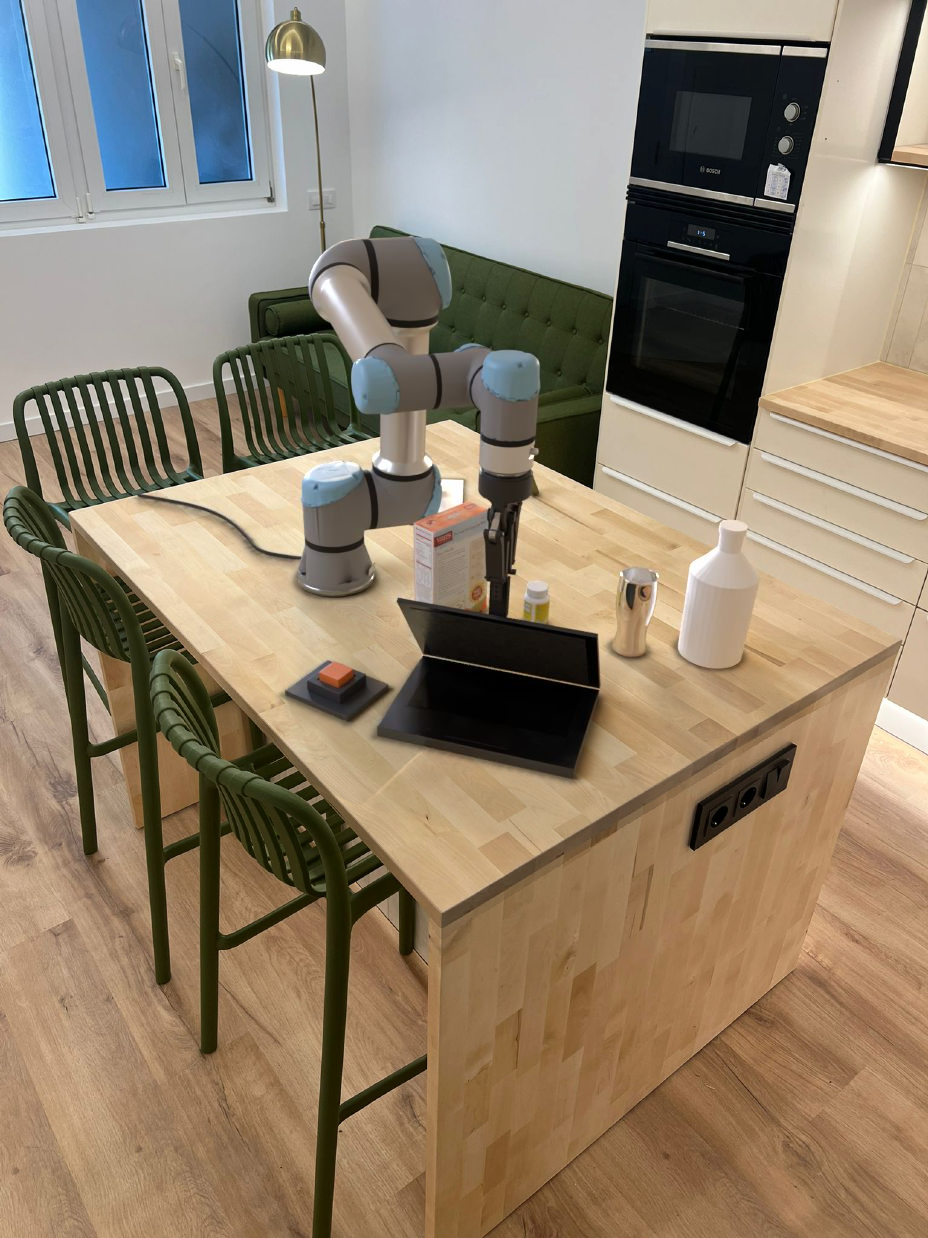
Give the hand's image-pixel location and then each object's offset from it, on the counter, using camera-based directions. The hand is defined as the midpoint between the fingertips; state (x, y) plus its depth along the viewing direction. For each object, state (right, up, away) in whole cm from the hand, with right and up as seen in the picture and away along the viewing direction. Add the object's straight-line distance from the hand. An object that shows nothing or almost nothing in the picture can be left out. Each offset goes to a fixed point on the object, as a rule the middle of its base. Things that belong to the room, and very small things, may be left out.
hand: (498, 614), depth 141 cm
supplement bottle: (+8, -2, +34) cm, 35 cm away
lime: (+11, +30, +87) cm, 93 cm away
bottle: (+39, -7, +28) cm, 49 cm away
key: (-26, -11, +13) cm, 31 cm away
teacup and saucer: (-15, +29, +85) cm, 91 cm away
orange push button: (-26, -13, +14) cm, 32 cm away
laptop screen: (+1, -5, +8) cm, 9 cm away
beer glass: (+25, -6, +28) cm, 38 cm away
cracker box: (-8, 0, +36) cm, 37 cm away
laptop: (-1, -16, +9) cm, 19 cm away
